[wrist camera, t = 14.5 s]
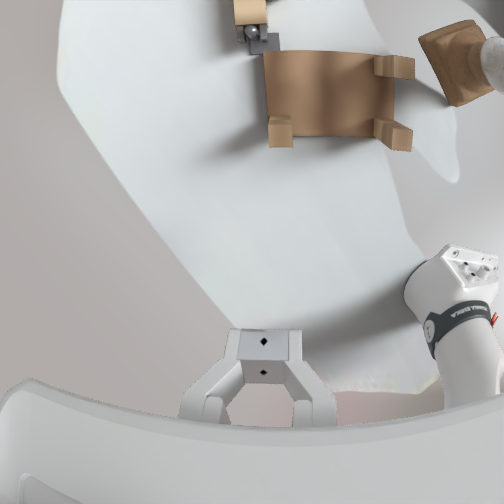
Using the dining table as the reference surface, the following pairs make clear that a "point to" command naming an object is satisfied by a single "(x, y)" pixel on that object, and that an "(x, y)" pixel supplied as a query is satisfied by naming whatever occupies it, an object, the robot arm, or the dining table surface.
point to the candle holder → (465, 61)
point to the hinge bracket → (257, 43)
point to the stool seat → (334, 96)
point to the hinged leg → (250, 17)
